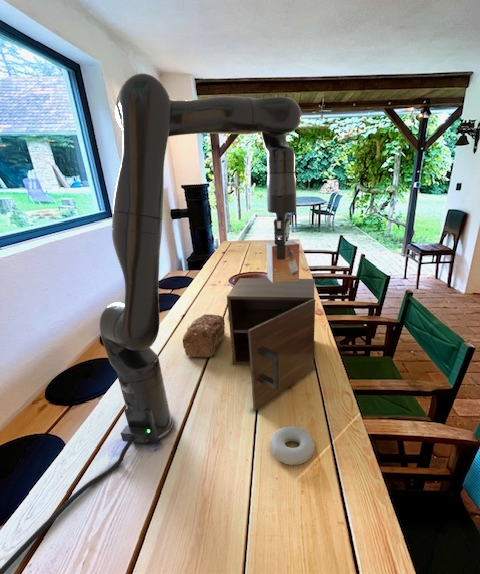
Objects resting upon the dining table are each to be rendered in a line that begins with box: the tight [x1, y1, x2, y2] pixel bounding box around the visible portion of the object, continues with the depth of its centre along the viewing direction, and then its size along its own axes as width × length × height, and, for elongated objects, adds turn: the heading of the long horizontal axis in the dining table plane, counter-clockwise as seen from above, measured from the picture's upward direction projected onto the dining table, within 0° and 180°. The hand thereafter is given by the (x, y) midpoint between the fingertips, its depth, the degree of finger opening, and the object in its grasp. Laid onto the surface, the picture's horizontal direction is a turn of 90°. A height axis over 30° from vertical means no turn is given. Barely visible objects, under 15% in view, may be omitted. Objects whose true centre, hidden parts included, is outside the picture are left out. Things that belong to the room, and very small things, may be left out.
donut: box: [269, 425, 316, 466], centre depth 72 cm, size 10×4×10 cm
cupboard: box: [226, 277, 316, 366], centre depth 108 cm, size 18×26×24 cm
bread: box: [182, 313, 226, 359], centre depth 117 cm, size 19×11×10 cm, turn 172°
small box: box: [266, 239, 300, 283], centre depth 90 cm, size 8×6×10 cm
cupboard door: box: [248, 298, 316, 412], centre depth 87 cm, size 7×26×24 cm, turn 137°
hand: (282, 255), depth 90 cm, fingers closed on small box, 7 cm apart
